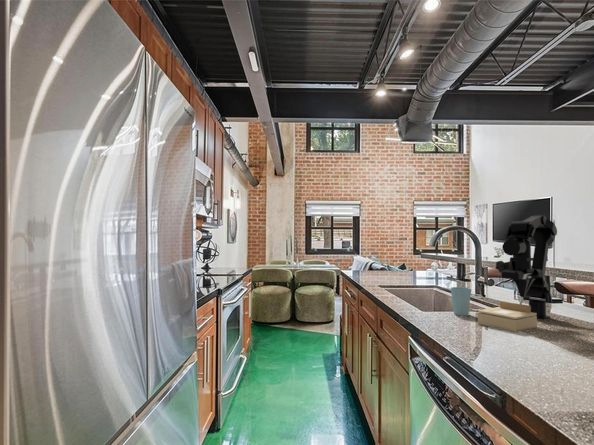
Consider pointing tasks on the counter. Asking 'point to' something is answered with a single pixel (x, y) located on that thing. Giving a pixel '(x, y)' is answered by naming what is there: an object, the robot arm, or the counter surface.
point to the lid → (510, 310)
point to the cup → (460, 300)
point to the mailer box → (507, 322)
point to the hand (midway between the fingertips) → (522, 296)
